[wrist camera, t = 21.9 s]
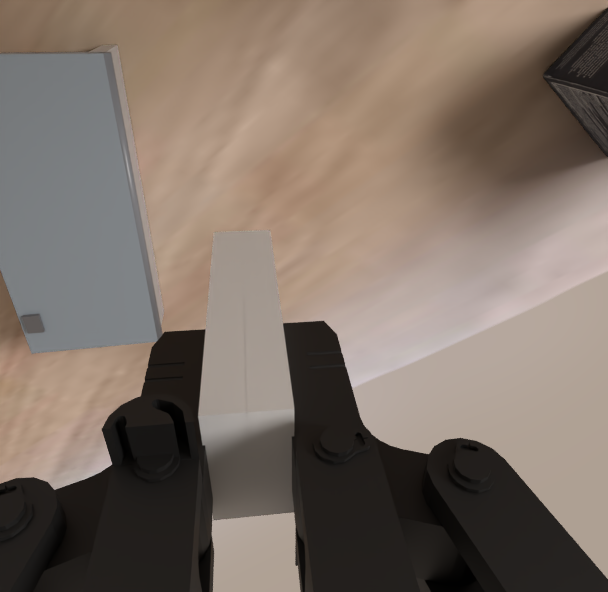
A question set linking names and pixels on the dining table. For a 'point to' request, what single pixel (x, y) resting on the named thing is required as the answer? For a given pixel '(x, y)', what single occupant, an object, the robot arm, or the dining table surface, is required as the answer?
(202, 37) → the dining table surface
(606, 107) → the small box
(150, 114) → the dining table surface
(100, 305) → the cover
